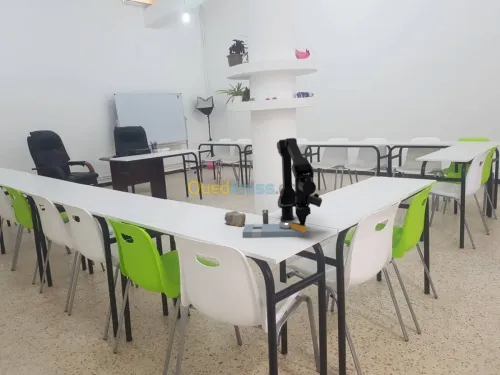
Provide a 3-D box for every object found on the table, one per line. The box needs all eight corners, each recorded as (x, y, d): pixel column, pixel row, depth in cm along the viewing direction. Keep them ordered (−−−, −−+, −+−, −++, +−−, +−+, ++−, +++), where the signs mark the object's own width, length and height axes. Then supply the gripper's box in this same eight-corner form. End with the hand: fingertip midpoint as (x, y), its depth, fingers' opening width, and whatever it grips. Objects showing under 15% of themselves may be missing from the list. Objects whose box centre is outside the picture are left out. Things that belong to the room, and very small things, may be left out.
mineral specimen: (251, 223, 190) (251, 211, 189) (243, 227, 184) (242, 214, 183) (231, 220, 197) (230, 209, 196) (222, 224, 191) (221, 212, 190)
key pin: (263, 226, 185) (262, 209, 183) (268, 225, 184) (268, 209, 183) (262, 227, 182) (262, 211, 181) (268, 227, 182) (267, 210, 180)
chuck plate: (246, 229, 180) (245, 224, 180) (302, 228, 177) (302, 223, 177) (242, 237, 169) (242, 232, 168) (303, 236, 166) (303, 231, 165)
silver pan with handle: (286, 223, 176) (286, 218, 176) (310, 230, 165) (310, 224, 165) (276, 226, 172) (276, 221, 172) (299, 233, 161) (299, 227, 161)
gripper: (322, 194, 158) (323, 231, 161) (319, 185, 176) (319, 218, 179) (295, 195, 159) (296, 231, 162) (294, 185, 177) (295, 218, 180)
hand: (302, 224), depth 171 cm, fingers open, 7 cm apart
